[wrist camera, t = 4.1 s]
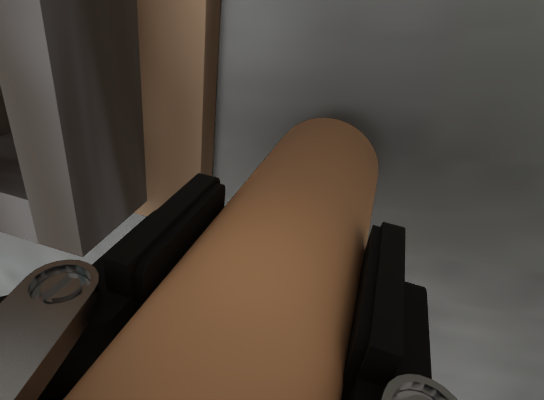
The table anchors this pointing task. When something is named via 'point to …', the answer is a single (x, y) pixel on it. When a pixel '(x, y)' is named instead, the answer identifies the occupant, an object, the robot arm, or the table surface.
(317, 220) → the peg
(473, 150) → the table surface
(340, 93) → the table surface
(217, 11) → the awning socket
